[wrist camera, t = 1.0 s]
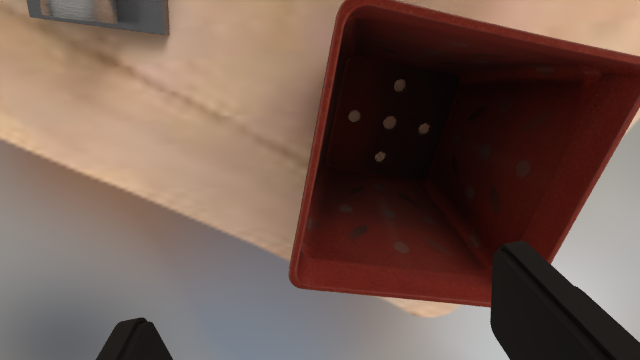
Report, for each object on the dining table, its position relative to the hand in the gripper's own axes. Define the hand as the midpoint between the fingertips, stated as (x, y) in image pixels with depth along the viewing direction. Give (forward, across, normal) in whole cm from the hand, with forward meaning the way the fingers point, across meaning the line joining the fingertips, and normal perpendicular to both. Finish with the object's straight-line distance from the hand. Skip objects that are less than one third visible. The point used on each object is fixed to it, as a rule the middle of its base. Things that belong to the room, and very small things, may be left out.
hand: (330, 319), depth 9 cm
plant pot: (+29, -9, +4) cm, 31 cm away
